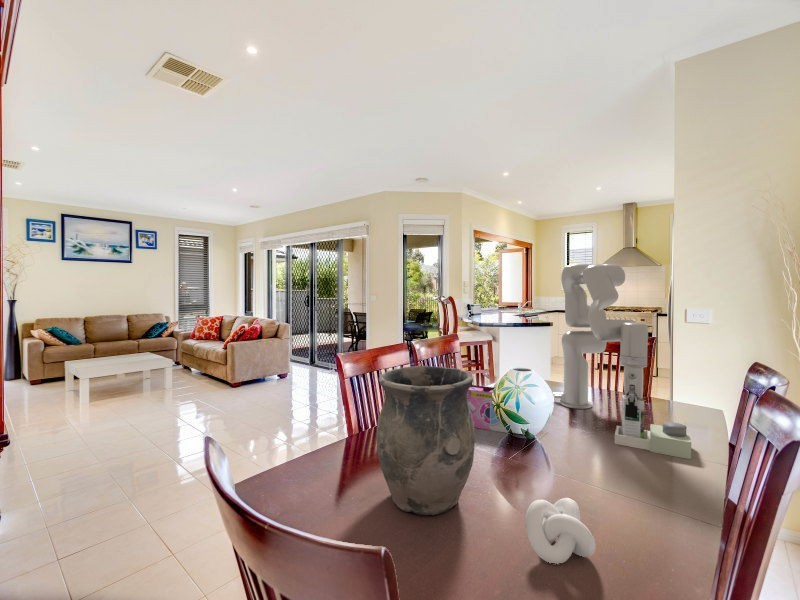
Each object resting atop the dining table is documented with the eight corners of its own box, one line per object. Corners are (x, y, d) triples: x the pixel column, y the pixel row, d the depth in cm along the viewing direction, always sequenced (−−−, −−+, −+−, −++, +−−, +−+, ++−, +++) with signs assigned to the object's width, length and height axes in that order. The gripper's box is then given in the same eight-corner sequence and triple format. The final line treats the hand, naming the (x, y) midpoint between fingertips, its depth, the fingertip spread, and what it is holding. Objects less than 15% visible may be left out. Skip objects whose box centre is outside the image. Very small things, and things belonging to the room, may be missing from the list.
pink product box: (532, 429, 138) (533, 391, 138) (529, 437, 131) (529, 396, 131) (467, 419, 149) (467, 384, 149) (460, 425, 142) (460, 388, 142)
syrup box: (623, 443, 125) (623, 398, 125) (621, 437, 131) (621, 393, 130) (644, 446, 123) (644, 400, 122) (641, 439, 128) (641, 395, 128)
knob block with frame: (614, 445, 124) (614, 421, 124) (616, 433, 134) (617, 411, 134) (691, 459, 113) (691, 433, 113) (687, 445, 123) (688, 421, 123)
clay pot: (380, 476, 104) (380, 363, 103) (467, 477, 103) (467, 364, 102) (372, 527, 81) (371, 384, 81) (482, 529, 81) (483, 385, 80)
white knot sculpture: (524, 526, 82) (525, 484, 81) (587, 537, 78) (588, 493, 78) (525, 563, 71) (526, 514, 71) (599, 577, 67) (599, 525, 67)
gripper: (646, 367, 116) (645, 423, 117) (647, 357, 131) (645, 407, 132) (618, 364, 121) (616, 418, 121) (621, 355, 135) (620, 403, 136)
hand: (631, 413), depth 127 cm, fingers open, 9 cm apart
